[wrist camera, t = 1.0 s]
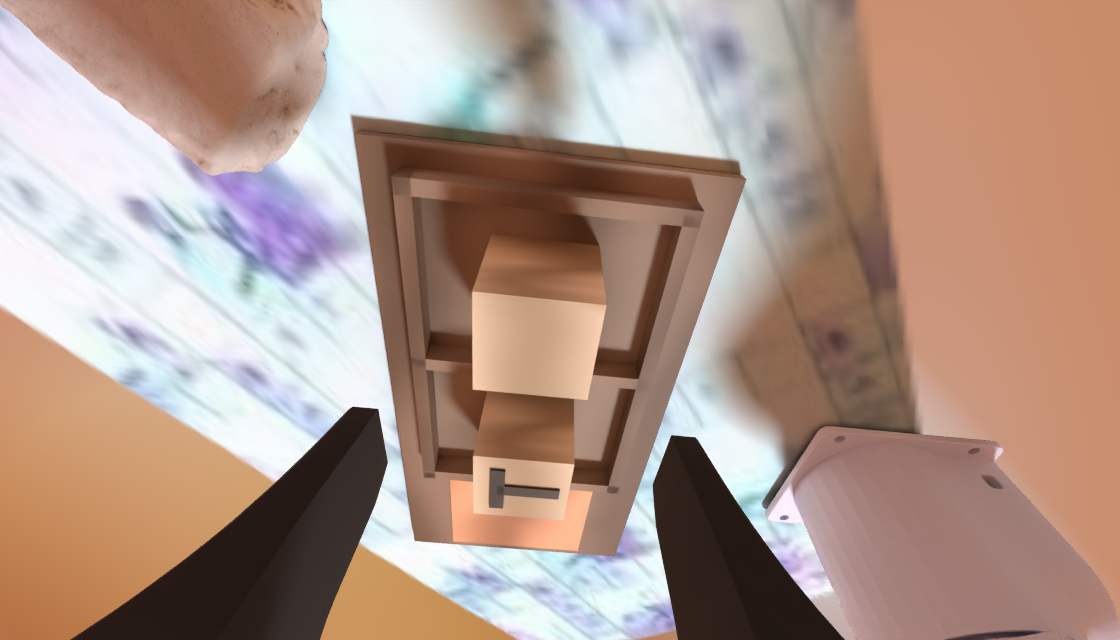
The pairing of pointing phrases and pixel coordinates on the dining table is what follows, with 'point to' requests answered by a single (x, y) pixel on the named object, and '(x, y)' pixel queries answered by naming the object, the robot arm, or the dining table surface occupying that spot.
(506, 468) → the letter cube
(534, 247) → the blank cube
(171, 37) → the tan faceted block
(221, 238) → the dining table surface
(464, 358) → the organiser
